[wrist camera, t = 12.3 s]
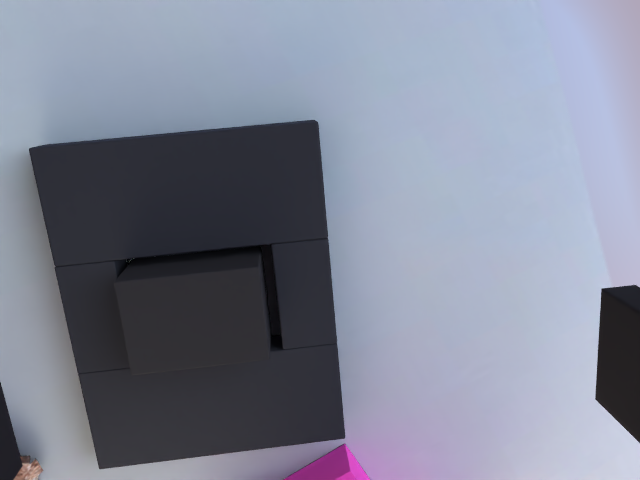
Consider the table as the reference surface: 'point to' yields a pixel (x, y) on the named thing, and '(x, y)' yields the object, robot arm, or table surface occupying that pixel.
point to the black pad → (194, 310)
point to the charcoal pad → (184, 237)
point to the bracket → (332, 467)
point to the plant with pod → (28, 469)
